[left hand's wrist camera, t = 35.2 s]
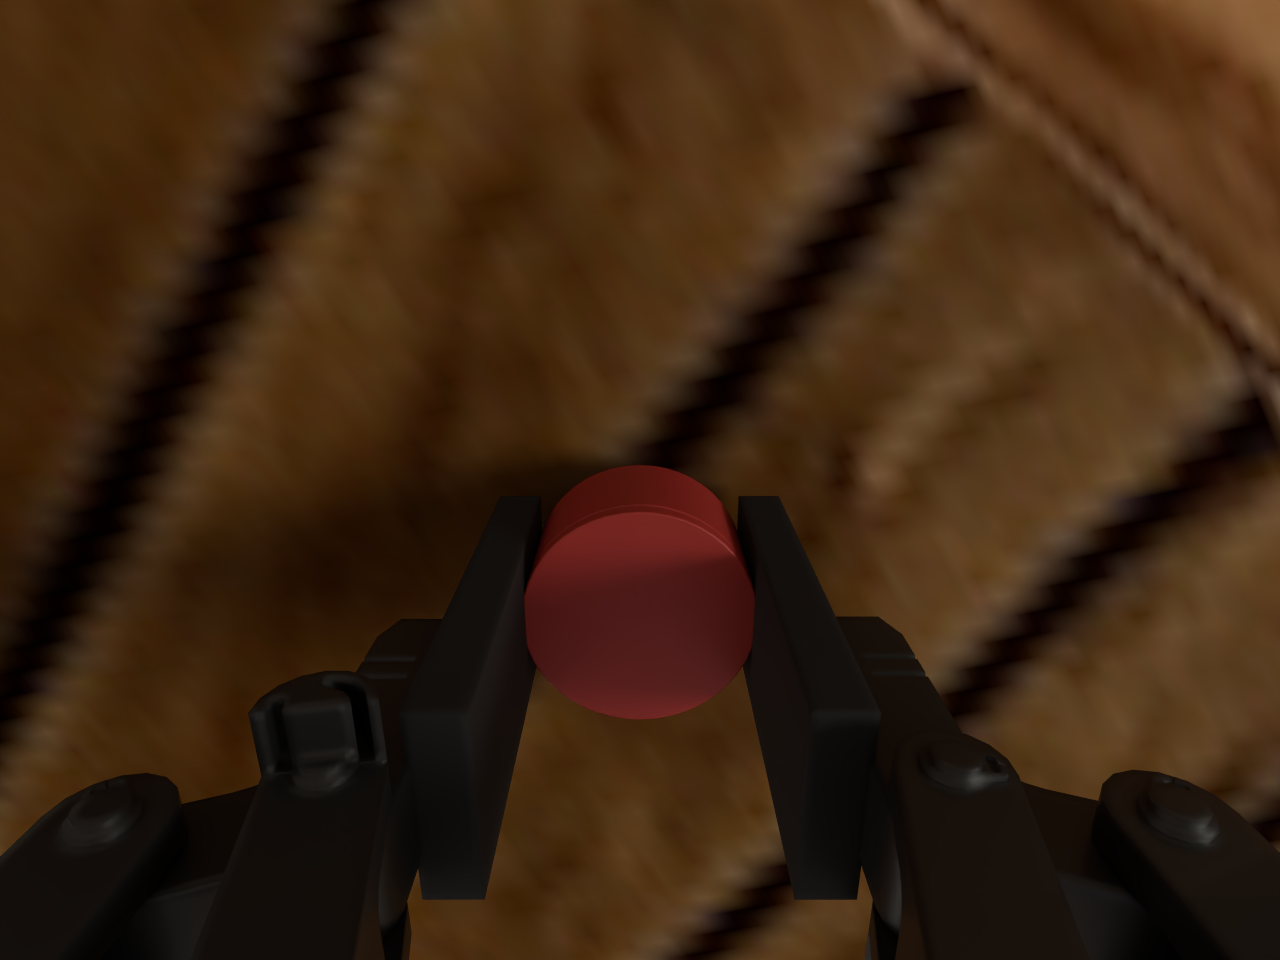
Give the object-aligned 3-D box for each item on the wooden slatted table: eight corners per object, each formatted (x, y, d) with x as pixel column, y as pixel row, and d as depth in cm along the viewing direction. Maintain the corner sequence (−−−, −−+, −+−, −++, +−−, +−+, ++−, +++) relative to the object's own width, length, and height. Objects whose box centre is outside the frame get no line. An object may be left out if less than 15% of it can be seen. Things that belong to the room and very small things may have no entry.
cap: (563, 441, 14) (549, 486, 12) (766, 491, 14) (789, 544, 12) (520, 622, 15) (500, 693, 13) (708, 663, 15) (719, 740, 13)
